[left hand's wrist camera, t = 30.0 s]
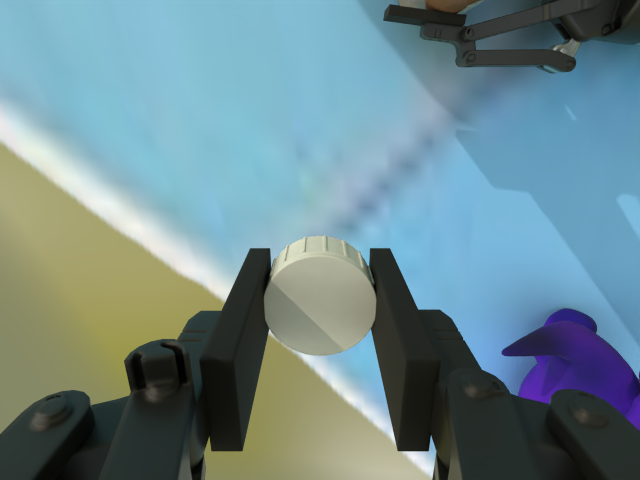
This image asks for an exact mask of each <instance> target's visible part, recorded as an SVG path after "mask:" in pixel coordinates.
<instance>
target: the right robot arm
mask: <svg viewBox="0 0 640 480" xmlns="http://www.w3.org/2000/svg"><path fill="white" fill-rule="evenodd" d="M465 19H466V15H463V14H456V13H449V12H442V11H434V10H427V9H420V8H413V7H405V6H398V5H391V4H390V5H389V6H388V8H387V9H386V10H385V13H384V19H383V21H390V22H397V23H405V24H412V25H419V26H421V31H420V37H421V38H423V39H424V40H431V41H439V42H446V43H452V44H453V45H454V46H455V48H456V53H457V57H456V60H455V61H456V65H457V66H458V67H531V66H534V67H537V68H539V69H542V70H544V71H546V72H549V73H561V72H569V71H572V70H573V69H574V68H575V65H576V60H575V59H574V58H573V57H574V55H575V53H576V52H577V50H578V48H579V46H580V44H581V42H585V41H588V40H599V41H606V42H614V43H621V44H628V45H633V44H637V45H639V46H640V0H543V2H542V6H539V7H535V8H532V9H528V10H525V11H521V12H517V13H514V14H510V15H507V16H503V17H499V18H496V19H492V20H489V21H485V22H482V23H478V24H474V25H470V26H468V27H467V26H463V25H464V24H465ZM546 21H551V22H552V24H553V25H554V26H555V28H556V29H557V30H558V31H559V33H560V34H561V35H562V37H563V38H564V39H565V41H564V43H563V44H558V45H553V46H551V47H550V48H549V49H533V50H476V47H475V41H476V40H480V39H484V38H487V37H491V36H495V35H498V34H502V33H506V32H509V31H513V30H516V29H520V28H524V27H527V26H531V25H535V24H539V23H542V22H546Z"/></svg>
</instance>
